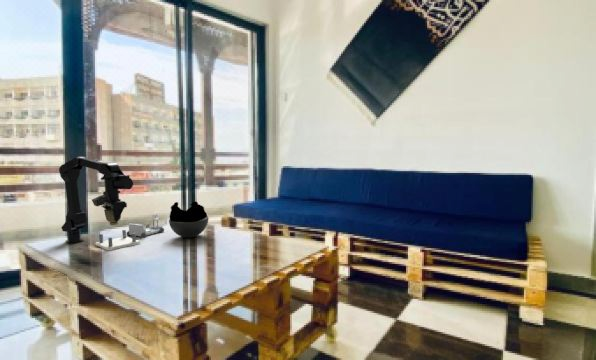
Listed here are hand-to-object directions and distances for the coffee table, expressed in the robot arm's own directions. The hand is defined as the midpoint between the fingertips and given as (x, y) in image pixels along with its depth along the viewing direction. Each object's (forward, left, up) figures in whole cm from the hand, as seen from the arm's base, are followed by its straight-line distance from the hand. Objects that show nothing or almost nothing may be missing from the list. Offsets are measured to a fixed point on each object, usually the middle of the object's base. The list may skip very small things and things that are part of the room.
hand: (113, 220), depth 167 cm
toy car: (-10, +21, -13) cm, 27 cm away
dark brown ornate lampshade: (0, 0, -2) cm, 2 cm away
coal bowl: (+16, +31, -12) cm, 37 cm away
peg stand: (0, +1, -12) cm, 12 cm away
